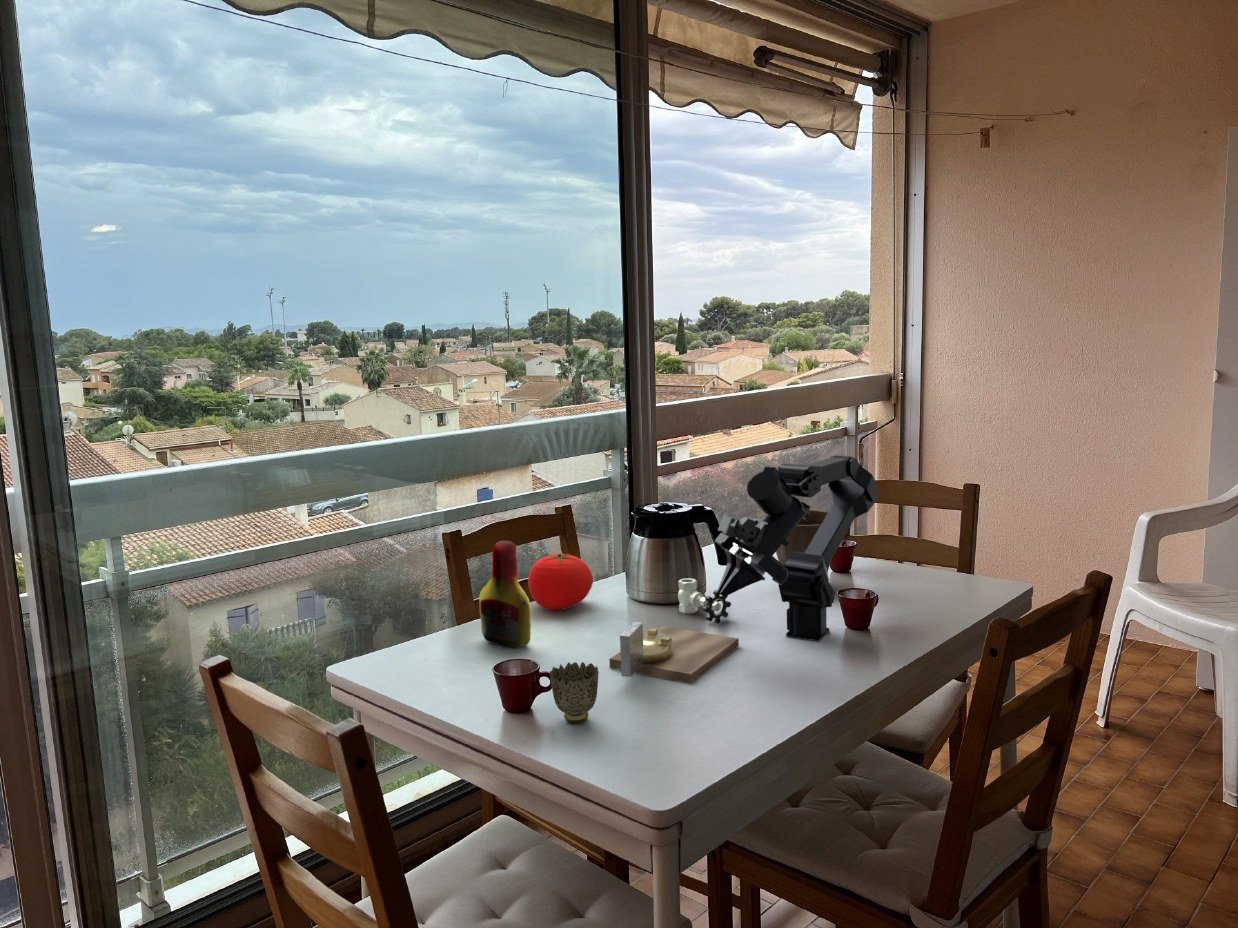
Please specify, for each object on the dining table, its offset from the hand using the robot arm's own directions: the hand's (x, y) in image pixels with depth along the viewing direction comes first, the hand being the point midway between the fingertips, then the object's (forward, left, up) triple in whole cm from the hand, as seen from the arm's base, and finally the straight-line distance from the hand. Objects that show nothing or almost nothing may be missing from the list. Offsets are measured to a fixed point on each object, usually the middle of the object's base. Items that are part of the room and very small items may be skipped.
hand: (720, 594), depth 160 cm
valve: (+14, -19, -12) cm, 26 cm away
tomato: (+43, -12, -12) cm, 46 cm away
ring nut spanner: (+10, +12, -10) cm, 18 cm away
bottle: (+39, +11, -12) cm, 43 cm away
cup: (+8, +33, -12) cm, 36 cm away
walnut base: (+7, +3, -11) cm, 14 cm away
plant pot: (+1, -46, -12) cm, 47 cm away
